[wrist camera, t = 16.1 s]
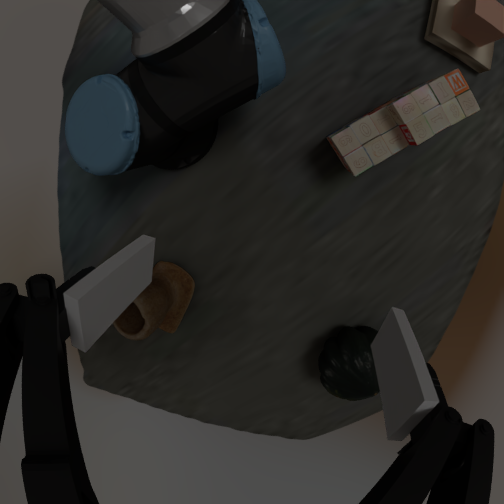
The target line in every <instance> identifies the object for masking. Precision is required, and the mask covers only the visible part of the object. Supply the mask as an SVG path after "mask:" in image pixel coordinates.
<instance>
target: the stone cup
mask: <svg viewBox="0 0 504 504" xmlns="http://www.w3.org/2000/svg"><path fill="white" fill-rule="evenodd" d="M194 288H195V282H194V280H193V278H192V277H191V275H190V274H189V273H187V272H186V271H185V270H184V269H182V268H181V267H179V266H177V265H176V264H174V263H171V262H164V261H160V262H158V263H157V264H156V265H155V266H154V268H153V270H152V282H151V283H150V284H149V285H148V286H147V287H146V288H145V289H144V290H143V291H142V292H141V293H140V294H139V295H138V296H137V297H136V299H135V300H134V301H133V302H132V303H131V304H130V305H129V306H128V307H127V308H126V309H125V310H124V311H123V312H122V313H121V314H120V315H119V317H118V318H117V319H116V320H115V321H114V322H113V325H114V326H115V328H116V329H117V331H118V332H119V333H120V334H121V335H123V336H124V337H126V338H128V339H131V340H143V339H145V338H147V337H148V336H150V335H151V334H152V333H153V332H154V331H155V330H156V329H157V328H158V327H159V328H160V329H162V330H164V331H166V332H168V333H174V332H175V331H176V329H177V328H178V326H179V324H180V322H181V320H182V318H183V316H184V314H185V312H186V310H187V308H188V306H189V303H190V301H191V298H192V296H193V293H194Z"/></svg>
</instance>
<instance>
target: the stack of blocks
mask: <svg viewBox="0 0 504 504" xmlns="http://www.w3.org/2000/svg"><path fill="white" fill-rule="evenodd" d="M479 110H480V108H479V106H478V104H477V102H476V100H475V98H474V96H473V94H472V91H471V90H469V86H468V84H467V82H466V81H465V79H464V77H463V75H462V74H461V72H460V70H459V69H455V70H453V71H451V72H449V73H446V74H444V75H441V76H439V77H437V78H435V79H432V80H430V81H428V82H426V83H424V84H421V85H419V86H417V87H415V88H413V89H411V90H409V91H407V92H405V93H403V94H401V95H399V96H397V97H395V98H393V99H391V100H389V101H388V102H387V103H386V104H384V105H382V106H380V107H378V108H376V109H374V110H373V111H372V112H370V113H368V114H366V115H364V116H362V117H361V118H357V119H355V120H354V121H352V122H350V123H348V124H347V125H345V126H343V127H342V128H340V129H339V130H337V131H335V132H333V133H332V134H330V135H328V136H327V137H326V138H327V140H328V141H329V143H330V144H331V146H332V147H333V149H334V151H335V152H336V154H337V156H338V157H339V159H340V161H341V162H342V164H343V165H344V167H345V168H346V169H347V170H348V171H349V172H351V173H352V174H353V175H354V176H357V175H359V174H361V173H362V172H364V171H366V170H367V169H369V168H370V167H372V166H374V165H376V164H378V163H380V162H381V161H383V160H385V159H386V158H388V157H390V156H391V155H393V154H395V153H397V152H398V151H400V150H402V149H403V148H405V147H407V146H408V145H409V144H410V145H419V144H420V143H422V142H424V141H425V140H427V139H429V138H430V137H432V136H434V134H436V133H438V132H440V131H441V130H443V129H445V128H446V127H448V126H451V125H453V124H455V123H457V122H458V121H460V120H462V119H464V118H465V117H468V116H470V115H472V114H473V113H475V112H477V111H479Z"/></svg>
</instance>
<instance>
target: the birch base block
mask: <svg viewBox="0 0 504 504" xmlns="http://www.w3.org/2000/svg"><path fill="white" fill-rule="evenodd" d="M459 1H460V0H432V5H431V10H430V15H429V19H428V24H427V28H426V33H425V37H424V39H425V40H427V41H429V42H430V43H432V44H434V45H436V46H438V47H439V48H441V49H443V50H444V51H446V52H448V53H449V54H451V55H453V56H454V57H456V58H457V59H459V60H460V61H462V62H464V63H465V64H467V65H468V66H470V67H471V68H472V69H474V70H475V71H477V72H478V73H482V72H485V71H489V70H490V68H491V62H492V55H493V48H494V42H491V43H489V44H487V45H484V46H482V47H478V46H477V45H475V44H474V43H472V42H471V41H469V40H468V39H466V38H465V37H463V36H462V35H460V34H459V33H457V32H455V31H454V30H452V29H451V25H452V20H453V13H454V7H455V4H457V3H458V2H459Z"/></svg>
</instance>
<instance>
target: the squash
mask: <svg viewBox="0 0 504 504" xmlns="http://www.w3.org/2000/svg"><path fill="white" fill-rule="evenodd" d="M377 333H378V331H377V330H375V329H373V328H371V327H368V326H364V327H361V328H359V329H358V330H356V329H354V328H352V327H349V326H348V327H344V328H343V329H342V330H341V331H340V333H339V335H338V337H332V338H329V339H328V340H327V341H326V343H325V346H324V350H323V351H322V352H321V354H320V356H319V370H320V373H321V376H320V379H321V383H322V384H323V386H324V387H325V388H326V390H327V391H328V392H329V393H330V394H332V395H334V396H336V397H339V398H342V399H347V400H350V401H357V400H362V399H366V398H369V397H373V396H375V395H377V394H378V393H379V391H380V389H379V384H378V378H377V373H376V368H375V363H374V359H373V354H372V349H371V344H372V342H373V340H374V339H375V337H376V335H377Z"/></svg>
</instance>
